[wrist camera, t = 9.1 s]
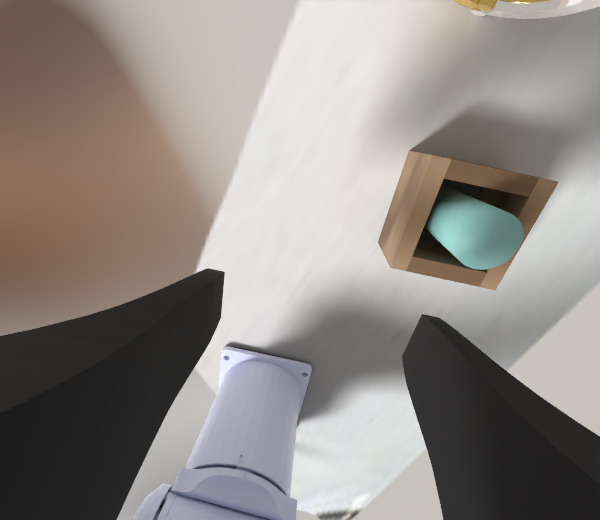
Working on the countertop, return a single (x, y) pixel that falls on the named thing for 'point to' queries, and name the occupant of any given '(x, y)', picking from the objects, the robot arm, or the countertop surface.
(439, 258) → the bead block
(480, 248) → the teal cylinder
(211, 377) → the countertop surface
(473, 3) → the ring
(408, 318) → the countertop surface
